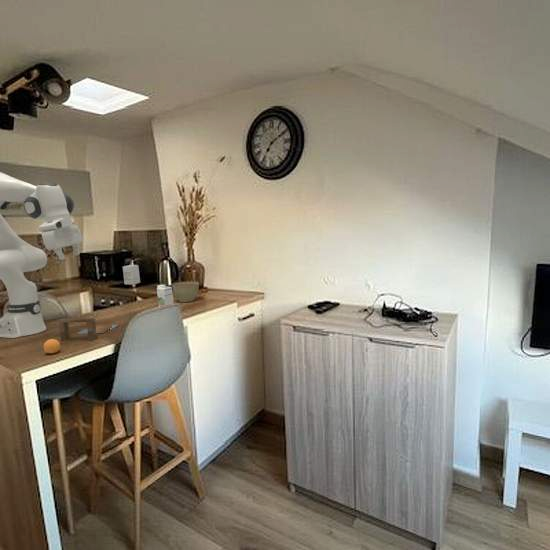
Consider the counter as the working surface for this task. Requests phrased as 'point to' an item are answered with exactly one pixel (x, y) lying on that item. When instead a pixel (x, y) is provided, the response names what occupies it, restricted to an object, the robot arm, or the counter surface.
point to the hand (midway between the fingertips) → (70, 257)
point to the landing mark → (87, 331)
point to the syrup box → (164, 296)
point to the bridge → (64, 321)
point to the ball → (51, 346)
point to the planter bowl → (185, 291)
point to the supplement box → (131, 274)
